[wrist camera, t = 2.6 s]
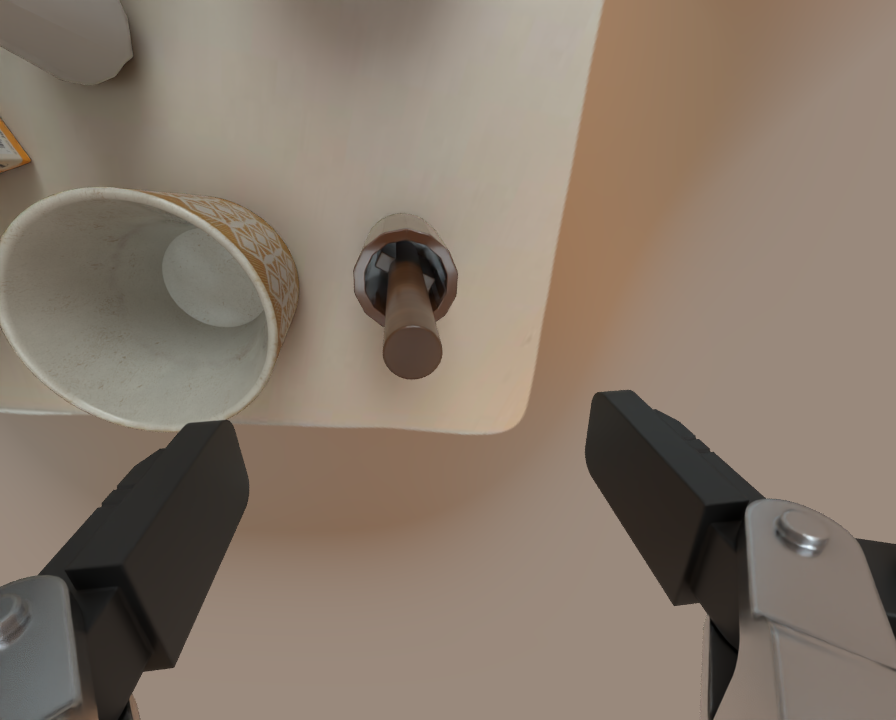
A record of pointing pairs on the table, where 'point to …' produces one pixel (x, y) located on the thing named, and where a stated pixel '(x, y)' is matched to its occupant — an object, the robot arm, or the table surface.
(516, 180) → the table surface
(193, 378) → the planter
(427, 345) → the cooking stick
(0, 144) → the supplement box
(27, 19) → the salt shaker
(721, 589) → the robot arm
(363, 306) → the crock
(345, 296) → the table surface
